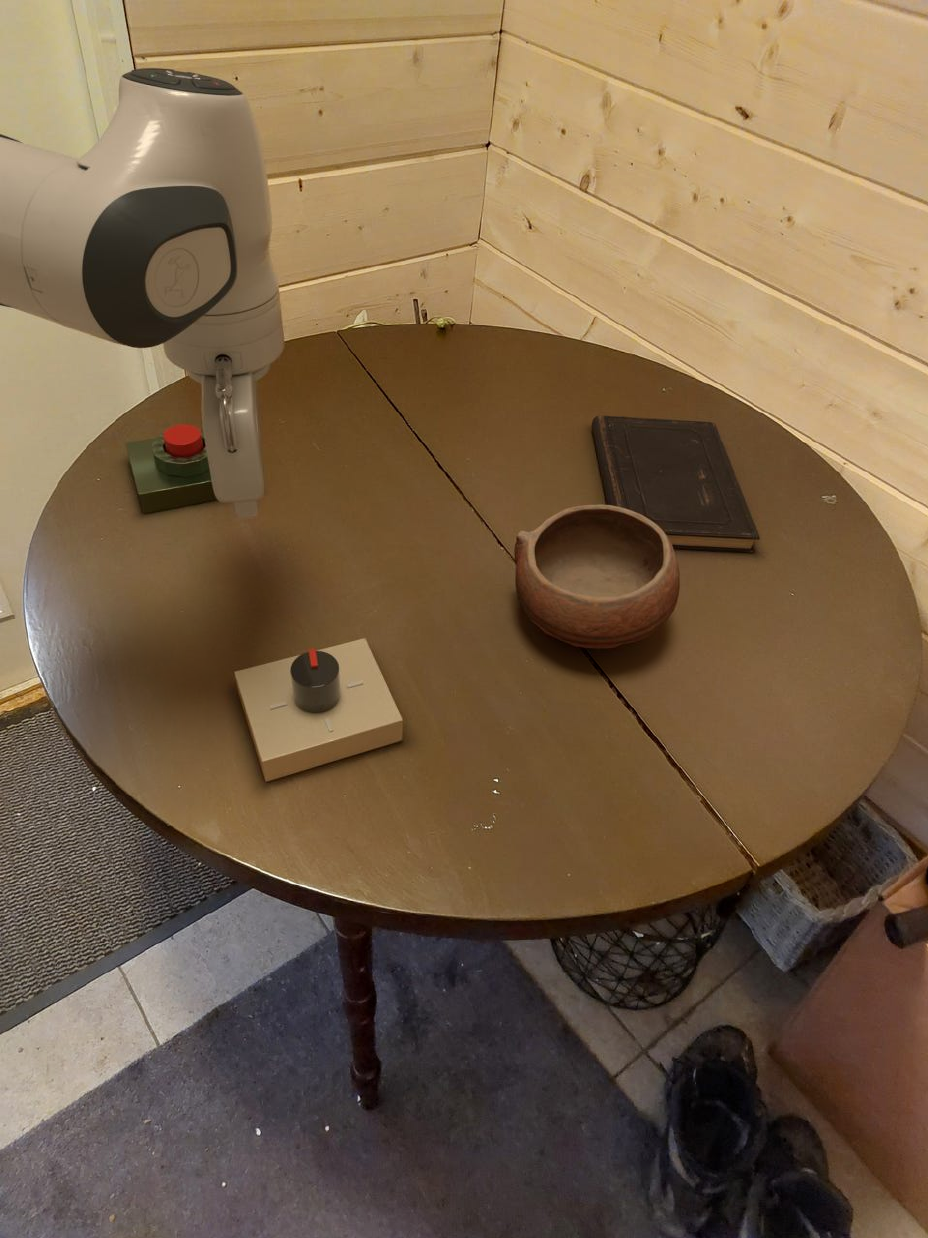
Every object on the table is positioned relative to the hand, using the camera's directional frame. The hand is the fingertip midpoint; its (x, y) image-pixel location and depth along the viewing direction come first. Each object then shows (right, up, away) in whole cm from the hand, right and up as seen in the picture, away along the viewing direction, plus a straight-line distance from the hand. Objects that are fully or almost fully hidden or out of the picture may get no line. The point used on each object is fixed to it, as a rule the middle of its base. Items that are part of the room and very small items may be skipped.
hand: (245, 477), depth 71 cm
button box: (-13, +4, +24) cm, 28 cm away
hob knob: (+6, -19, 0) cm, 20 cm away
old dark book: (+43, +4, +30) cm, 53 cm away
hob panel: (+6, -21, +2) cm, 22 cm away
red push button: (-12, +7, +21) cm, 26 cm away
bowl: (+31, -12, +13) cm, 36 cm away
